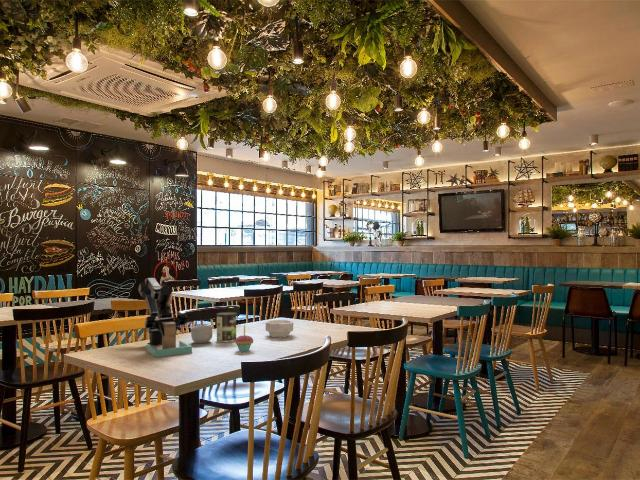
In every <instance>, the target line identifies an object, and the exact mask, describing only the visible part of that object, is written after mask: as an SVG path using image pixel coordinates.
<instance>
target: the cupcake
mask: <svg viewBox="0 0 640 480" xmlns="http://www.w3.org/2000/svg"><path fill="white" fill-rule="evenodd" d="M253 343H254V338H253V337H252V336H250V335H246V324H244V325H243V335H239V336H237V337H236V339H235V341H234V344H236V346H237V349H238V351H239V352H241V353H242V352H243V353H245V352H249V351H250V350H251V349H250V348H251V346H252V344H253Z"/></svg>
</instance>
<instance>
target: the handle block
mask: <svg viewBox="0 0 640 480" xmlns="http://www.w3.org/2000/svg"><path fill="white" fill-rule="evenodd" d="M162 325H163V329H164V336H163V335H162V344H161V349H169V348H177V331H176V323H174V322H166V323H162Z"/></svg>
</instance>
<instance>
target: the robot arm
mask: <svg viewBox="0 0 640 480" xmlns="http://www.w3.org/2000/svg"><path fill="white" fill-rule="evenodd" d="M138 293H139V294H140V297H141V298H143V299H144V300H145V303H146V306H147V310H148V313H149V316H147V317H145V321H144V328H146V332H147V333H148V334H149V342H148V343H146V344H147V345H148V344H150V345H151V346H159V345H162V335H163V336H164V329H163V325H162V323H166V322H174V323H176V332H177V331H178V330H177V329H178V327H179V326H183V325H185V324H186V322H187V320H188V315H187V314H186V313H178V314H177V315H176V317H175V316H174V317H173V313H172V312H171V306H170V305H169V302H170V300H171V297H172V294H173V289H172V288H171V287H170V286H167V284H162V285H160V283H159V282H158V281H157V278H155V277H147V278H145V279H144V280H143V281H142V282H140V283H139V285H138Z"/></svg>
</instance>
